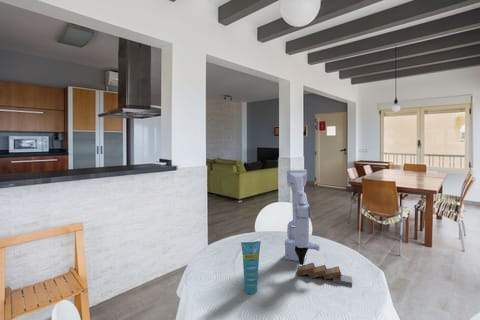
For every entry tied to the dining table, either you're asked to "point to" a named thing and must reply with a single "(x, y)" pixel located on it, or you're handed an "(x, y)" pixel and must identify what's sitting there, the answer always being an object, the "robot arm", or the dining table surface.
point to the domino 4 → (343, 280)
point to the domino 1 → (305, 269)
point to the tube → (250, 265)
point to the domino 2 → (318, 271)
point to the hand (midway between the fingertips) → (301, 263)
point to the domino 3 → (332, 273)
